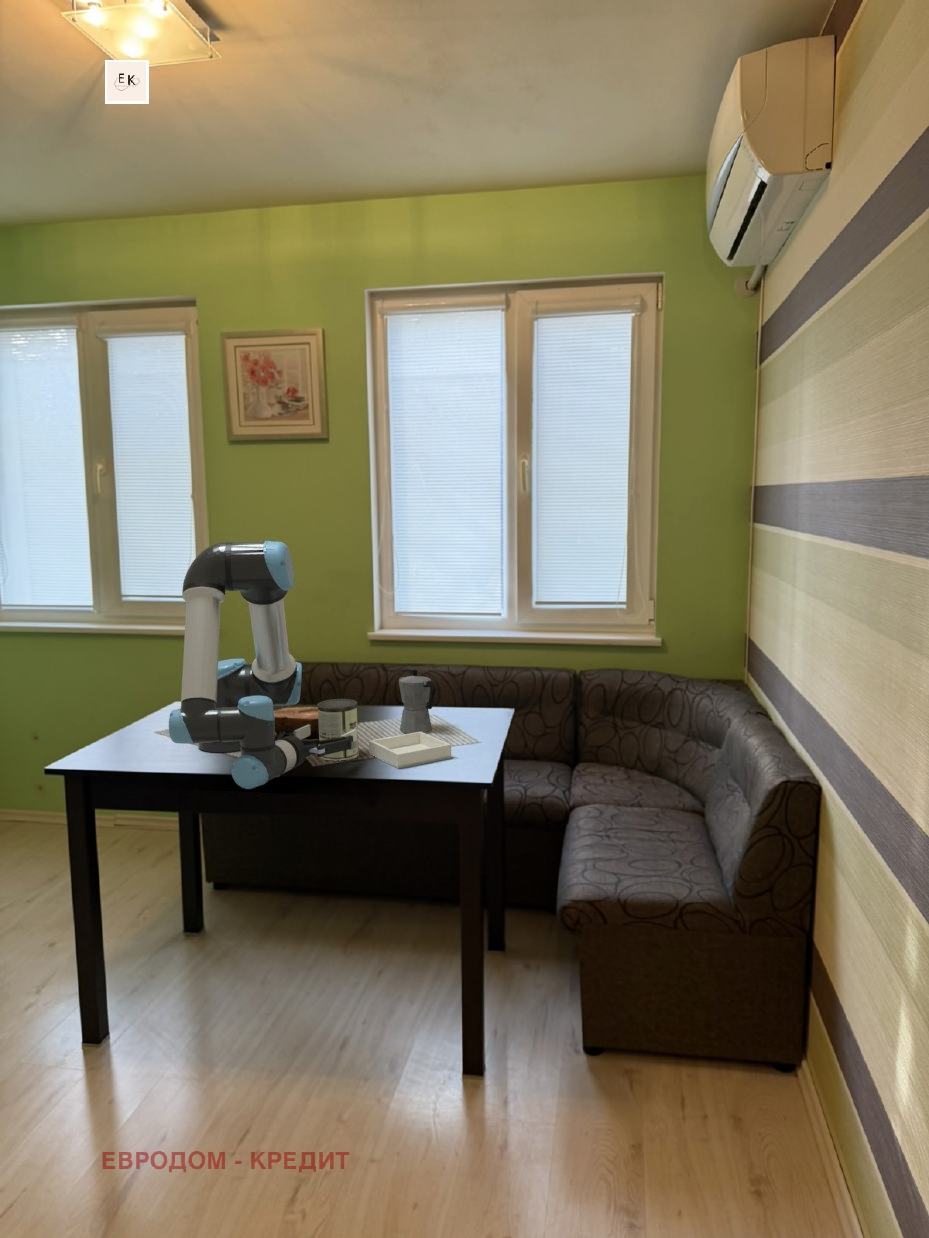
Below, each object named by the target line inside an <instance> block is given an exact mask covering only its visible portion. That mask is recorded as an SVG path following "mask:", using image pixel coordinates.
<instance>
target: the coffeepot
mask: <svg viewBox="0 0 929 1238" xmlns="http://www.w3.org/2000/svg"><path fill="white" fill-rule="evenodd" d="M418 671H419V670H417V669H415V668H414V669H411V672H412V675H410V676H409V675H408V676H402V677H399V679H398V685H399V690H400V697H401V702H402V703H403V709H402V713H401V721H400V728H399V730H400V732H401V733H402V734H403V735H404V734H410V733H415V732H423V733H425V734H428V733H430V732H432V730H433V728H432V722H431V717H430V711H429V710H431V709H432V708H433V704H434V701H435V696H436V693H437V686H436V685H435V683H434V682H433V680H432V679H431V678H429V677H427V676H422V675H418Z"/></svg>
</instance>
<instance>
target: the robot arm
mask: <svg viewBox="0 0 929 1238" xmlns="http://www.w3.org/2000/svg"><path fill="white" fill-rule="evenodd" d="M294 576H295V574H294V568H293V561H292V556H291V551H290V549H289V547H288V546H287V544H286V543H284V542H282V541H271V540H265V541H232V542H231V541H230V542H228V541H222V542H216V543H214V544H211V545H210V546H208V547H206V548H205V549H203V550H201V552H200V553H198V555H197V556H196V557H195V559H194V560H193V561H192V562H191V564H190V565H189V568H188V569H187V571H186V574H185V576H184V579H183V583H182V591H181V592H182V594H181V595H182V599H183V600H184V602H186V604H185V606H186V607H185V622H184V624H185V625H184V639H183V640H184V641H183V656H182V657H183V659H182V677H181V678H182V679H181V680H182V681H181V694H180V695H181V698H180V708H177V709H173V710H171V712H170V713H169V718H168V734H169V738H170V740H171V741H172V742H173V743H175V744H181V745H182V744H183V745H184V744H187V745H189V744H191V745H194V744H198V749H199V750H201V751H203V752H209V753H230V752H232V753H233V752H238V751H240V756H238V757H237V758H236V759H235V760H234V761H233V764H232V765H231V777H232V779H233V781H234V782H235V784H236V785H238V786H239V787H240V788H242V789H246V790H253V789H254V788H257V787H260V786H263V785H265V784H266V783H268V782H269V781H271V780H273V779H275V778H279V777H281V775H283V774H285V773H287V772H288V771H291V770H293V769H296V768H298V767H299V766H301V765H303V763H304V761H306V758H307V757H310V756H311V755H317V756H316V757H317V758H320V757H322V756H325V755H327V754H332V753H336V752H340V751H344V750H345V751H346V750H349V749H352V742H354V741H356V740H357V730H356V729H354V730H352V731H350V732H347V733H345V734H343V735H341V737H340V738H333V739H326V740H319V739H318V738H313V739H307V737H310V736H311V735H312V734H311V733H312V732H311V724H306V725H304V726H302V727H299V728H296V729H295V730H294V729H293V728H287V733H286V731H284V730H282V731H280V732H279V733H278V736H277V738H276V729H275V727H276V726H275V719H276V718H275V713H274V712H275V711H274V707H286V706H290V705H291V706H292V705H293V706H294V705H296V704H298V703H299V702H300V699H301V698H300V697H301V688H302V676H303V675H302V674H303V673H302V672H303V671H302V670H303V669H302V668H303V666H302V665H303V664H302V663H301V662H298V661H296V659H295V658H294V656H293V655H292V654H291V653H290V650H289V642H288V631H287V621H286V610H285V602H284V601H285V600H284V599H285V598H286V597H287V595H288V593H289V591H290V590H292V589H293V588H294V585H295V584H294V583H295V577H294ZM228 591H229V592H239V593H240V596H241V598H242V599H243V600H244V601H245V602H246V603H248V610H249V616H250V623H251V629H252V632H251V633H252V638H253V645H254V652H255V658H254V660H253V661H252V663H249V664H248V663H247V661H246V660H245V659H244V658H230V659H225V660H223V659H222V660H219V652H220V649H219V648H220V646H219V645H220V623H221V620H220V619H221V603H223V602H224V601H225V600H226V592H228ZM314 743H315V745H314Z"/></svg>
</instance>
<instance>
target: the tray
mask: <svg viewBox="0 0 929 1238" xmlns="http://www.w3.org/2000/svg"><path fill="white" fill-rule="evenodd" d="M368 743H369V744H368V747H369V750H368V751H369V755H371V756H373V757H374V756H375V759H378V760H380V761H381V762H382V761H383V762H384V763H386V764H388V765H390V766H391V767H393V768H395V769H397V770H399V769H403V768H410V767H414V766H420V765H423V764H424V765H426V764H428V763H429V764H430V763H433V762H438V761H444V760H449V759H452V744H451V743H450V742H449V743H448V742H446V741H444V740H441V739H439V738H437V737H435V736H433V735H429V734H428V733H423V732H415V733H410V734H404V733H403V734H398V735H394V736H389V737H388V736H387V737H383V738H382V737H381V738H376V739H371V740H368Z"/></svg>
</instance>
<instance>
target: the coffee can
mask: <svg viewBox="0 0 929 1238" xmlns="http://www.w3.org/2000/svg"><path fill="white" fill-rule="evenodd" d="M316 707H317V715H318V716H317V718H318V738H319V739H318V740H326V739H333V738H340V737H341V735H343V734H345V733H347V732H350V731H352V730H354V729H356V730H357V740H356V741H354V742H352V749H349V750H346V751H345V750H344V751H340V752H336V753H332V754H327V755H325V756H322V757H319V758H320V759H321V760H323V761H326V760H339V761H338V762H342V761H341V760H346V761H350V760H353V759H356V758H357V756H358V757H359V756H360V752H359V727H358V726H359V725H358V724H359V723H358V722H359V721H358V720H359V718H358V701H356V700H355V699H351V698H334V699H333V698H332V699H327V700H323V701H322V700H321V701H320V702H318V703H317V705H316Z"/></svg>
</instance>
